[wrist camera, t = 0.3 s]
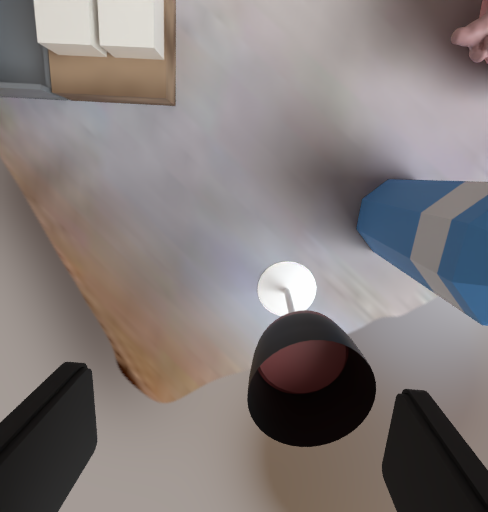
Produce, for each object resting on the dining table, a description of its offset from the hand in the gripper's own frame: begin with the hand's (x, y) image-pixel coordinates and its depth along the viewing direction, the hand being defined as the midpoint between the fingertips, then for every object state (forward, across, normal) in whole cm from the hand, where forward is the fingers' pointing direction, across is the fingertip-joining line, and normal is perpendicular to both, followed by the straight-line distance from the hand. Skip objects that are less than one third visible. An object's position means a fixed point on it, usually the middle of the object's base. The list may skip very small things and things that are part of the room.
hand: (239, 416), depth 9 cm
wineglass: (+30, -4, +7) cm, 31 cm away
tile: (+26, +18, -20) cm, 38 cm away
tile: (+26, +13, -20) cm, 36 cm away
